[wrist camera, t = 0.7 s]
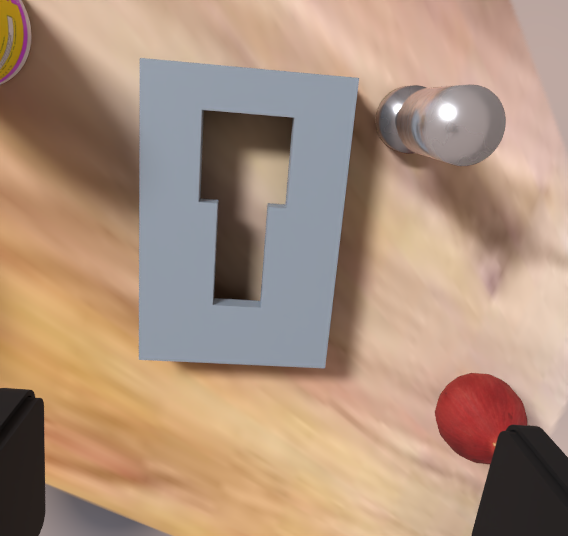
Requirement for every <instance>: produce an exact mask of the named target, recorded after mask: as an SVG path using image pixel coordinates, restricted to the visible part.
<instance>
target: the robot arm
mask: <svg viewBox="0 0 568 536" xmlns="http://www.w3.org/2000/svg"><path fill="white" fill-rule="evenodd" d="M44 517H45V453H44V402H43V399H41V398H35V394H34V392H33V391H32V390H25V389H11V388H0V536H38V535H39V534H40V531H41V529H42V526H43V522H44ZM472 536H568V457H567V456H566V455H565V454H564V453H563V452H562V450H561V449H560V448H559V447H558V446H557V445H556V444H555V443H554V442H553V440H552V439H551V438H550V437H549V436H548V435H547V434H546V433H545V431H544V430H543V429H541V428H540V427H537V426H526V425H510V426H508V428H507V429H506V431H502V432H500V433H499V435H498V438H497V442H496V446H495V449H494V453H493V457H492V460H491V464H490V468H489V472H488V475H487V479H486V483H485V486H484V490H483V494H482V498H481V501H480V505H479V509H478V513H477V516H476V520H475V524H474V527H473V531H472Z"/></svg>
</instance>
